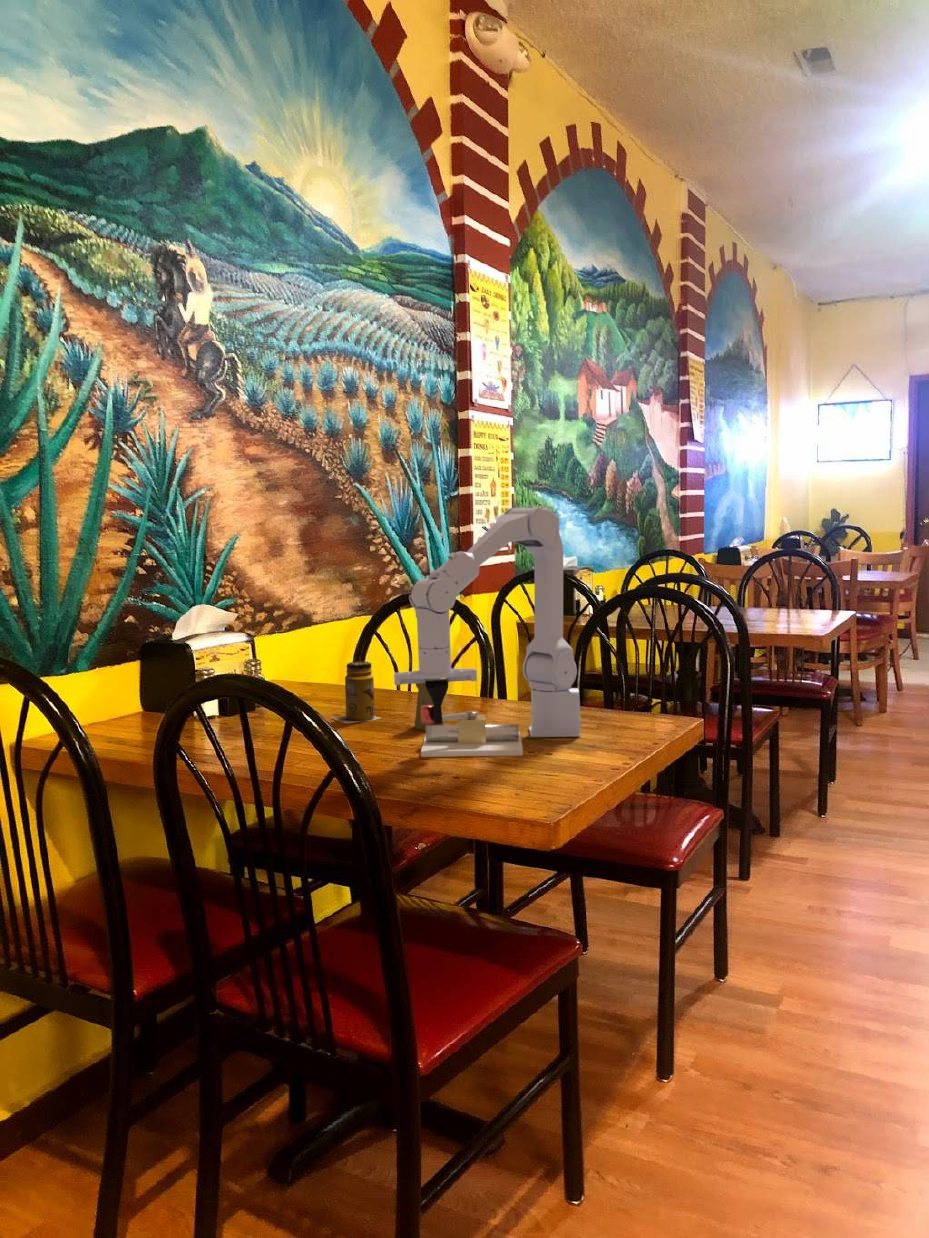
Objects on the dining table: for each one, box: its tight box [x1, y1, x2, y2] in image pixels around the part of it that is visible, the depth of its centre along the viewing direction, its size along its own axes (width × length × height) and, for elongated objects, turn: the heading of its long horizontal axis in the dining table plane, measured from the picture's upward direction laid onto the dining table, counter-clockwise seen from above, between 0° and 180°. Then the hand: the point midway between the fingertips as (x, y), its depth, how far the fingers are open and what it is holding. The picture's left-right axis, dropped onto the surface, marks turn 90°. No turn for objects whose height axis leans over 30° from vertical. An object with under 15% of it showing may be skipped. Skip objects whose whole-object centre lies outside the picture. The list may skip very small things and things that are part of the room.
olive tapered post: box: [413, 679, 445, 731], centre depth 196 cm, size 6×6×11 cm
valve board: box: [420, 731, 524, 758], centre depth 178 cm, size 18×15×1 cm
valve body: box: [425, 714, 520, 744], centre depth 178 cm, size 17×5×4 cm, turn 89°
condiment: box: [331, 661, 382, 724], centre depth 205 cm, size 7×8×12 cm
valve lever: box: [421, 705, 479, 724], centre depth 176 cm, size 11×2×3 cm, turn 118°
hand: (437, 722), depth 172 cm, fingers closed, pressing on valve lever
